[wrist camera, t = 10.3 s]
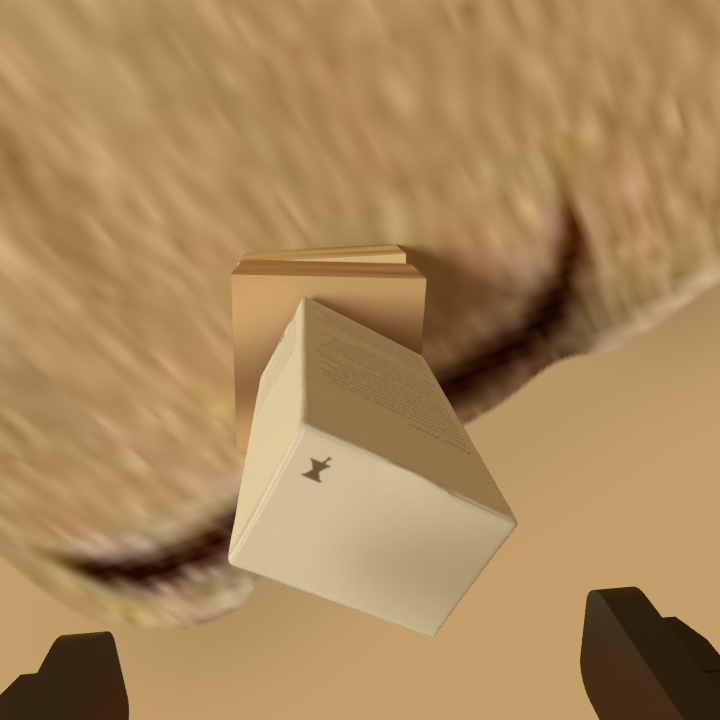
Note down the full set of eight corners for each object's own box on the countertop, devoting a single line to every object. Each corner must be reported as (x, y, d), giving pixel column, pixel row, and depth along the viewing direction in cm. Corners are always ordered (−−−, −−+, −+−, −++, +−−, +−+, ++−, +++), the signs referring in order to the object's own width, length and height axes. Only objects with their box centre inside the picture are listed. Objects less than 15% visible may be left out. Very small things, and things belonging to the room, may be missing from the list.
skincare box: (257, 378, 25) (216, 564, 13) (303, 292, 24) (299, 415, 12) (380, 435, 26) (435, 647, 15) (428, 356, 25) (527, 520, 14)
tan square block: (242, 259, 27) (231, 274, 23) (411, 263, 28) (426, 278, 24) (247, 415, 30) (237, 452, 26) (401, 416, 30) (414, 451, 27)
